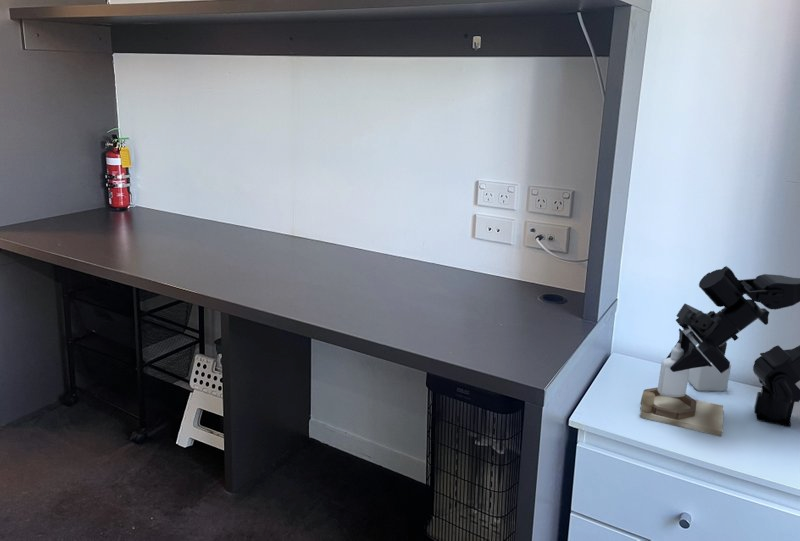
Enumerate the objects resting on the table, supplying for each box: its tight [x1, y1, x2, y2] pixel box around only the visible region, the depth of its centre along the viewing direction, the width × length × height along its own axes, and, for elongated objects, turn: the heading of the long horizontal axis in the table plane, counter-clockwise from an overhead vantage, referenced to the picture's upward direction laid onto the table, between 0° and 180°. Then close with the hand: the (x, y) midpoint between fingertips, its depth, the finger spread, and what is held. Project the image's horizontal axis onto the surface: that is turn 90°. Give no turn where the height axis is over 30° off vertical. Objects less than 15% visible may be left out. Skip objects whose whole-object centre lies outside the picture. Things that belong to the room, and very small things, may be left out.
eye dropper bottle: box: [657, 343, 689, 397], centre depth 143 cm, size 4×6×12 cm
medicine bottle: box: [688, 342, 732, 392], centre depth 157 cm, size 7×7×12 cm
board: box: [639, 386, 724, 437], centre depth 145 cm, size 16×12×5 cm
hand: (668, 366), depth 143 cm, fingers closed on eye dropper bottle, 3 cm apart
